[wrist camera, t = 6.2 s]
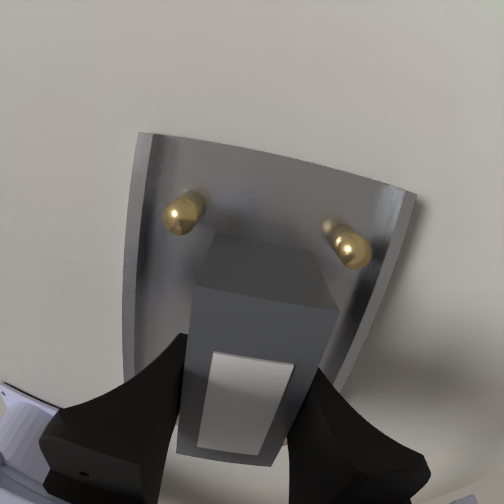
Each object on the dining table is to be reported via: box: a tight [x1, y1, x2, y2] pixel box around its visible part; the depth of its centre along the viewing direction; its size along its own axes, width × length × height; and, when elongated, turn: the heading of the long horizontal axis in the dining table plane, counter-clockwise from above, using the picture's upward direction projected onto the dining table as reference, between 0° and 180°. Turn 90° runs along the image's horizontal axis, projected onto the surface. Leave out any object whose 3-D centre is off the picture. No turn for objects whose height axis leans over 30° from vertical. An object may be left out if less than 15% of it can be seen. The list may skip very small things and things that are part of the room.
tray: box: [122, 132, 417, 446], centre depth 14 cm, size 16×11×3 cm
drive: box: [176, 233, 340, 467], centre depth 12 cm, size 8×4×5 cm, turn 168°
